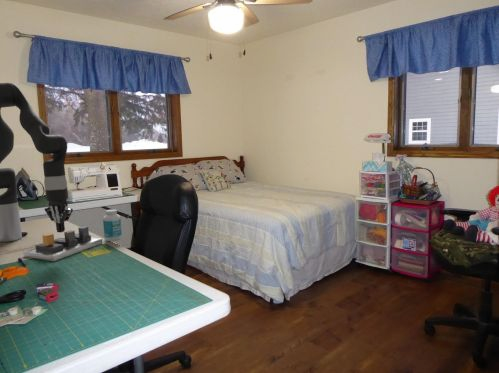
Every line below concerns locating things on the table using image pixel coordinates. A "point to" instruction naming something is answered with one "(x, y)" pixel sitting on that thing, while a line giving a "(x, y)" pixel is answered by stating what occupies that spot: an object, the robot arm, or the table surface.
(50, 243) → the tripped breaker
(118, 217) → the pill bottle
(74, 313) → the table surface
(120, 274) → the table surface
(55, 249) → the panel
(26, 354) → the table surface
